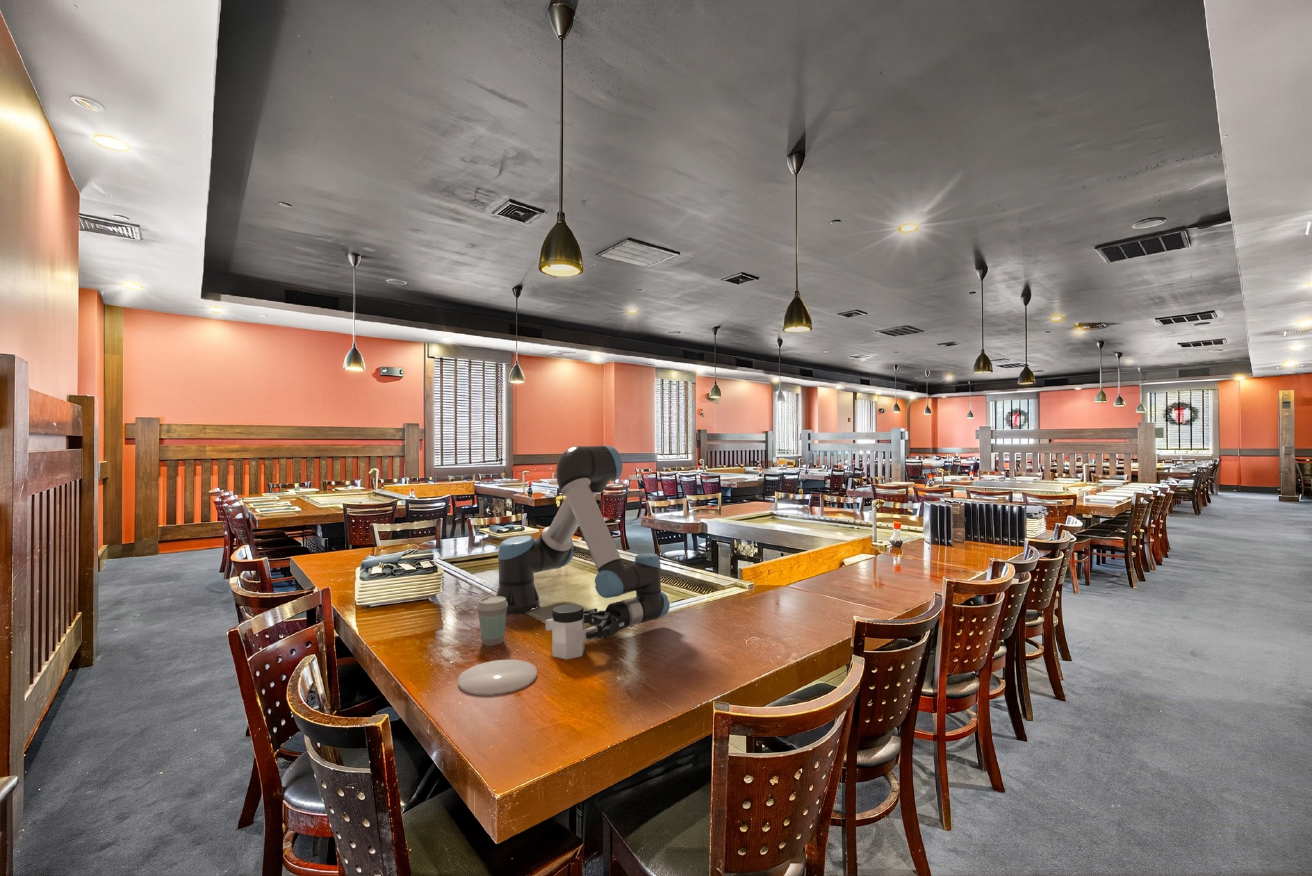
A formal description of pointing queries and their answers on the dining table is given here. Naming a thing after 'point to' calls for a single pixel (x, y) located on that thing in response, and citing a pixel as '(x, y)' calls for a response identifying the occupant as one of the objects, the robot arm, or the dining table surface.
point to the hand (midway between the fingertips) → (559, 631)
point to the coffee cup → (492, 619)
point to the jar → (567, 631)
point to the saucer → (497, 677)
